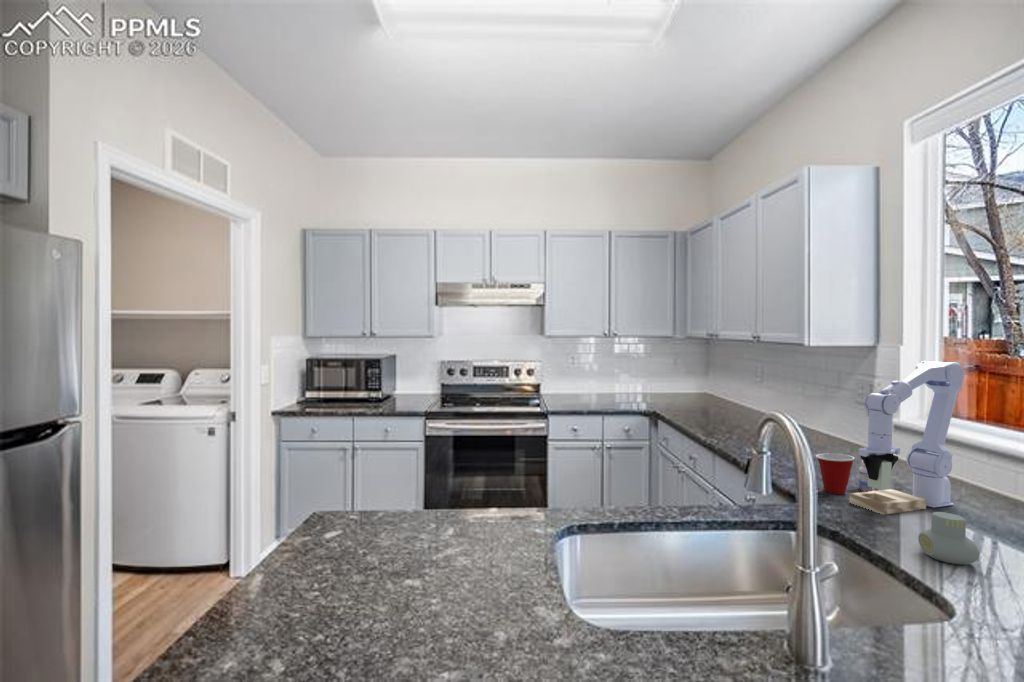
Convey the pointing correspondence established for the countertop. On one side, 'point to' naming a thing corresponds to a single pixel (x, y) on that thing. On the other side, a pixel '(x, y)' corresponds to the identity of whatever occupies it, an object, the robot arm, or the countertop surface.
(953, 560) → the air freshener
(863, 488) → the pill bottle
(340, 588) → the countertop surface
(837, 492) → the plastic cup
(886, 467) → the square peg
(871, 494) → the socket rail
